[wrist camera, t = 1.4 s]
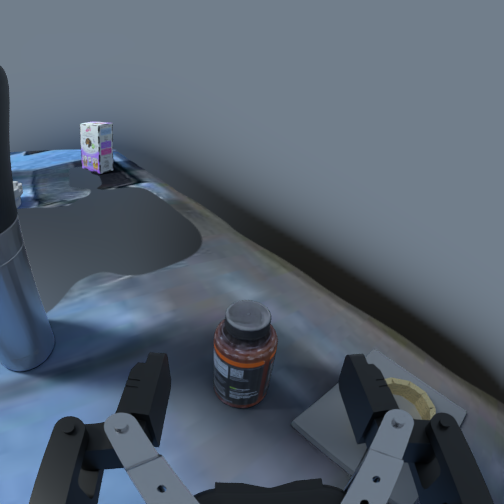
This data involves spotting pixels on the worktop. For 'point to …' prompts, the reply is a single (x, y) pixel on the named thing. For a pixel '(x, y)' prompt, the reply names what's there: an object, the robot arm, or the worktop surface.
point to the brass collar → (413, 396)
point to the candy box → (97, 146)
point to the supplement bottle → (244, 354)
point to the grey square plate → (341, 434)
